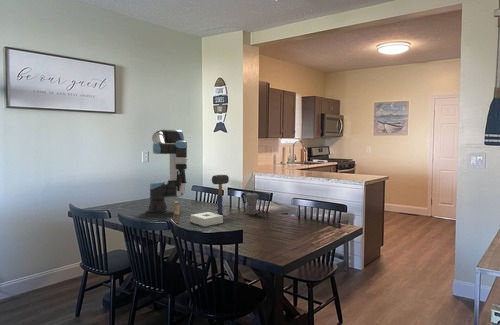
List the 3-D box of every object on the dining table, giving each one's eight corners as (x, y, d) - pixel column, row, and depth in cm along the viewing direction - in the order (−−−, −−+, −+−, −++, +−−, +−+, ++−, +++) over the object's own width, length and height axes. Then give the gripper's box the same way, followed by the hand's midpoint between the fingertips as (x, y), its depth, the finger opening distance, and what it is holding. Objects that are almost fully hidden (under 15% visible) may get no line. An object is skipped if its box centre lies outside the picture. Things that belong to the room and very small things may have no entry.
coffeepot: (261, 213, 291) (261, 190, 290) (256, 215, 283) (256, 192, 281) (243, 211, 298) (244, 188, 296) (238, 213, 289) (238, 190, 288)
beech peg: (172, 222, 255) (172, 202, 254) (177, 221, 258) (177, 201, 257) (175, 223, 252) (175, 203, 251) (181, 222, 255) (181, 202, 254)
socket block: (190, 221, 257) (190, 214, 256) (208, 218, 268) (209, 211, 267) (204, 226, 245) (204, 218, 245) (222, 222, 256) (223, 215, 256)
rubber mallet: (215, 214, 282) (216, 175, 280) (210, 213, 288) (211, 174, 285) (229, 212, 290) (229, 174, 287) (223, 211, 295) (224, 173, 293)
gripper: (182, 164, 240) (182, 197, 242) (190, 162, 265) (190, 191, 267) (171, 164, 241) (170, 196, 242) (180, 162, 266) (179, 191, 267)
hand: (180, 194), depth 255 cm, fingers open, 13 cm apart
